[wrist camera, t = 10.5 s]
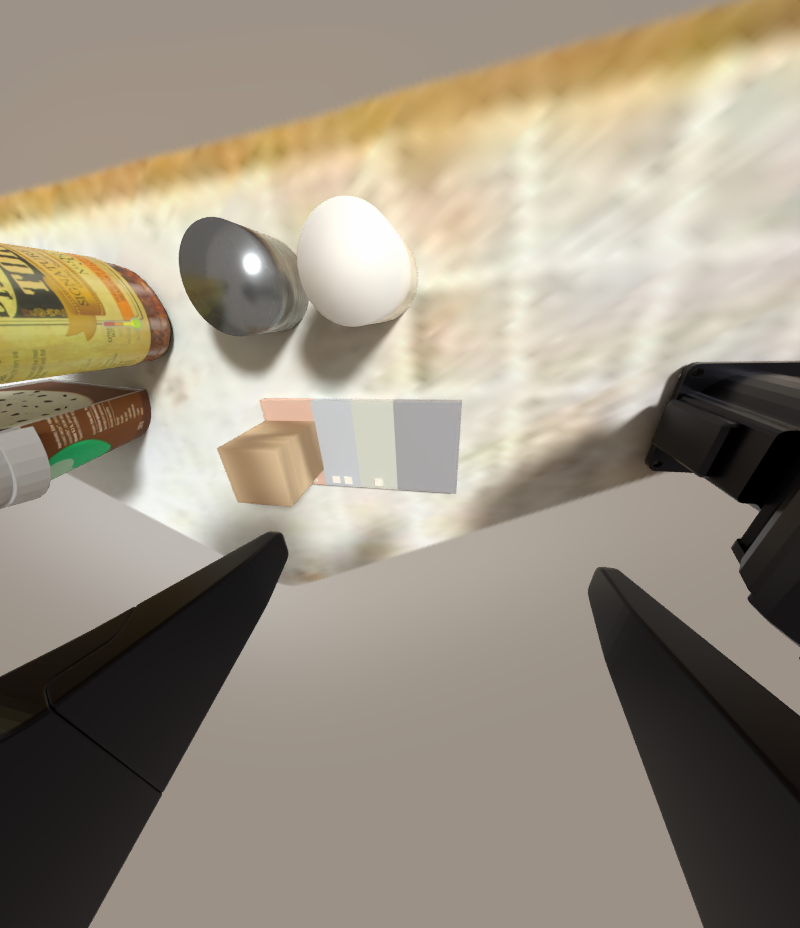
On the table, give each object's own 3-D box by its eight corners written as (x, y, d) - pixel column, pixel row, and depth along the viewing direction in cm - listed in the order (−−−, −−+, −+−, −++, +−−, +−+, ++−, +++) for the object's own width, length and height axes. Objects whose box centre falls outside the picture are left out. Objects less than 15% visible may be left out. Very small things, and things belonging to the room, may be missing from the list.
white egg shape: (417, 226, 15) (397, 189, 10) (418, 320, 17) (402, 325, 12) (338, 234, 16) (286, 202, 11) (348, 323, 18) (308, 328, 13)
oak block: (314, 421, 21) (276, 450, 17) (323, 469, 23) (292, 506, 18) (265, 420, 22) (217, 448, 17) (278, 466, 23) (237, 502, 19)
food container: (73, 442, 28) (-104, 503, 19) (37, 377, 25) (-193, 414, 16) (186, 458, 26) (48, 534, 17) (161, 391, 23) (-20, 441, 14)
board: (461, 400, 19) (461, 403, 18) (456, 489, 22) (455, 494, 21) (264, 398, 21) (258, 400, 21) (285, 478, 25) (281, 482, 24)
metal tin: (299, 232, 16) (255, 210, 13) (316, 329, 18) (282, 334, 15) (222, 240, 17) (162, 223, 14) (247, 332, 19) (201, 337, 16)
